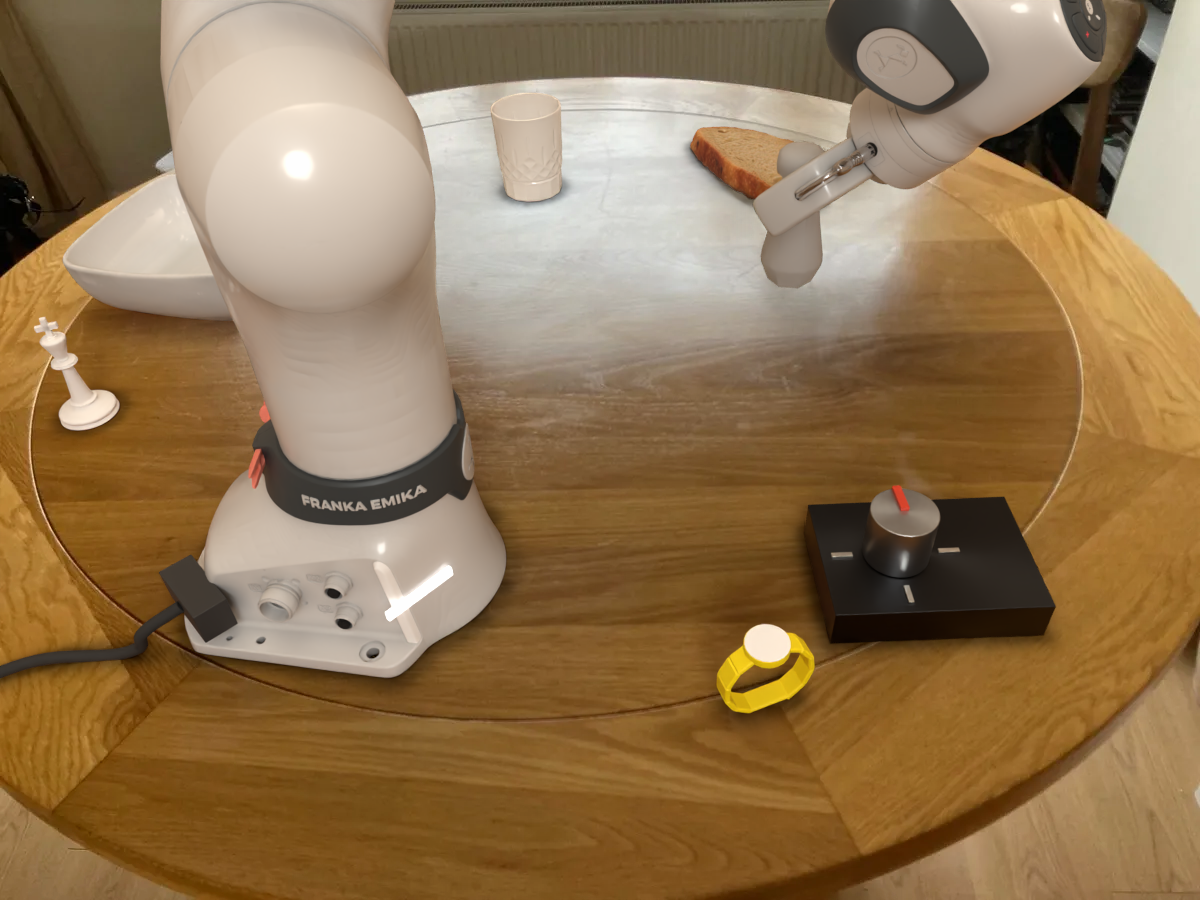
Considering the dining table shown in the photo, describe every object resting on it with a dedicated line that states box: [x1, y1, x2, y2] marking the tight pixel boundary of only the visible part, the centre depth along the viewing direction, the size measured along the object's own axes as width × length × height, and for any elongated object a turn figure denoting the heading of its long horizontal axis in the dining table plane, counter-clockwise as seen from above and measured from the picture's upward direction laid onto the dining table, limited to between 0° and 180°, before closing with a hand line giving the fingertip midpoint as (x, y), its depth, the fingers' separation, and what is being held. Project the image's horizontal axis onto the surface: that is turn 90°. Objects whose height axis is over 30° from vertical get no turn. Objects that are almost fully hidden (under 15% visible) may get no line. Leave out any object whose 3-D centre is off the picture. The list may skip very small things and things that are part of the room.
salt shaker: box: [759, 140, 826, 290], centre depth 88 cm, size 6×6×13 cm
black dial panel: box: [803, 496, 1057, 645], centre depth 66 cm, size 14×10×3 cm
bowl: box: [61, 173, 234, 322], centre depth 98 cm, size 20×20×8 cm
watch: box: [715, 623, 816, 714], centre depth 58 cm, size 6×3×6 cm, turn 109°
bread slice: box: [689, 126, 795, 201], centre depth 113 cm, size 18×18×4 cm
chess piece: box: [33, 316, 120, 431], centre depth 82 cm, size 5×5×10 cm
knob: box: [862, 484, 940, 578], centre depth 63 cm, size 4×4×4 cm
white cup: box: [489, 92, 563, 203], centre depth 110 cm, size 8×8×10 cm
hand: (791, 204), depth 87 cm, fingers closed on salt shaker, 3 cm apart
